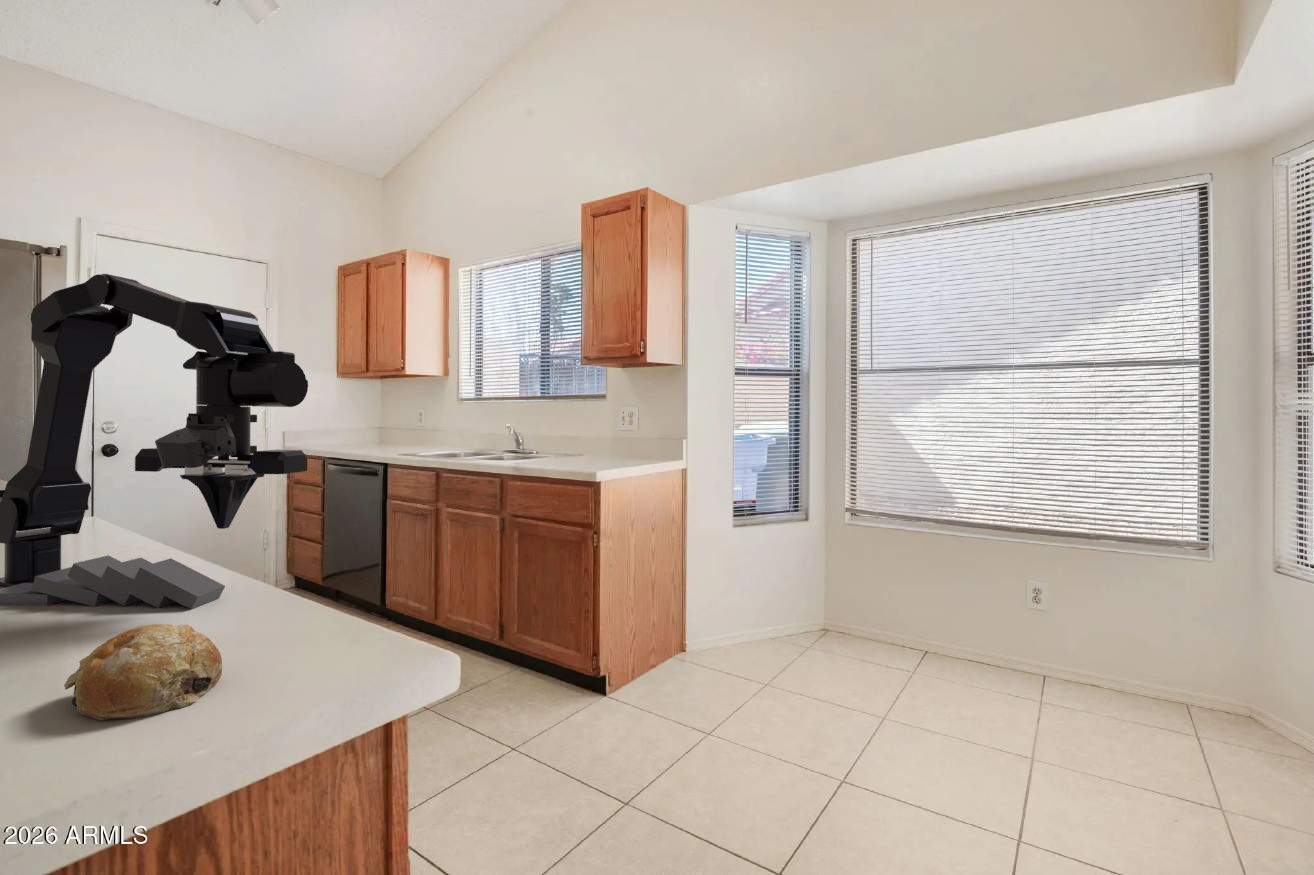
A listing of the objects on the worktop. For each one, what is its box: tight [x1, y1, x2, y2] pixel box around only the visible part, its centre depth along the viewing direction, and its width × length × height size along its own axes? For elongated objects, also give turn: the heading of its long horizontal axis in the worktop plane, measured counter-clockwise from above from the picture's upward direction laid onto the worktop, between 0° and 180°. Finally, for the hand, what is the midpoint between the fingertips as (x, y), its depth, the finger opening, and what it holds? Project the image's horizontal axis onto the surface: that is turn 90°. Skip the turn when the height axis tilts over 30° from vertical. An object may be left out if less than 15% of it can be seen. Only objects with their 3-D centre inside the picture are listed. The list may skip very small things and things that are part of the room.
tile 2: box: [32, 566, 114, 608], centre depth 81 cm, size 2×5×8 cm
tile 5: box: [134, 557, 226, 610], centre depth 81 cm, size 2×5×8 cm
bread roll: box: [63, 623, 223, 721], centre depth 55 cm, size 10×10×8 cm
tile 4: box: [101, 557, 177, 609], centre depth 81 cm, size 2×5×8 cm
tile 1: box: [0, 583, 68, 607], centre depth 81 cm, size 2×5×8 cm
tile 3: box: [67, 555, 142, 607], centre depth 81 cm, size 2×5×8 cm
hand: (223, 528), depth 81 cm, fingers closed
